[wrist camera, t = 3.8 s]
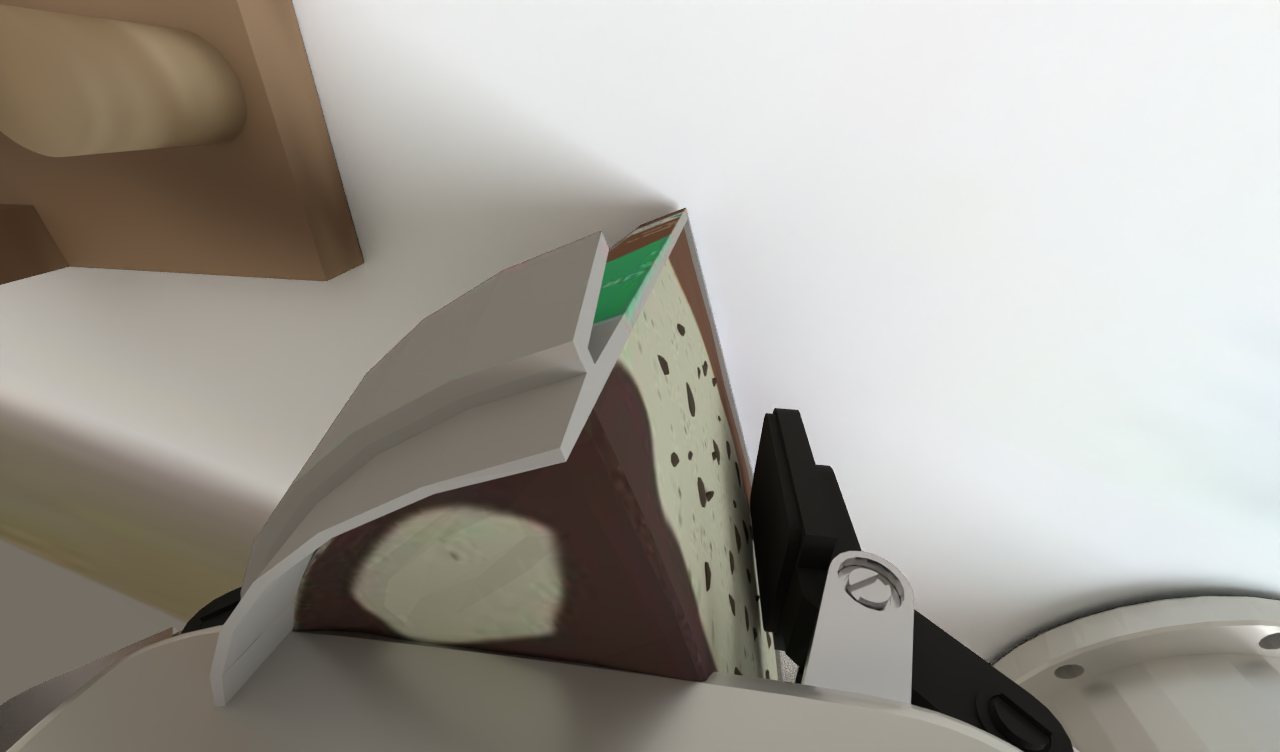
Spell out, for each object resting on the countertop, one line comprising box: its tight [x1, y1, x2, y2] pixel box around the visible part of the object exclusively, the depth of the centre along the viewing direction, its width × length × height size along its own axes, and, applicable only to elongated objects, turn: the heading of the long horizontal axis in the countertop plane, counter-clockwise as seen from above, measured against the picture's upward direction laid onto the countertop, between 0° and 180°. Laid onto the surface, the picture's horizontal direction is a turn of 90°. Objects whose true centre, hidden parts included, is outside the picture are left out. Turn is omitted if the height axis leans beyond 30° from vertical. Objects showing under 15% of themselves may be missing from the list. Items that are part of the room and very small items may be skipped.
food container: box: [209, 208, 784, 708], centre depth 10 cm, size 12×6×10 cm, turn 17°
